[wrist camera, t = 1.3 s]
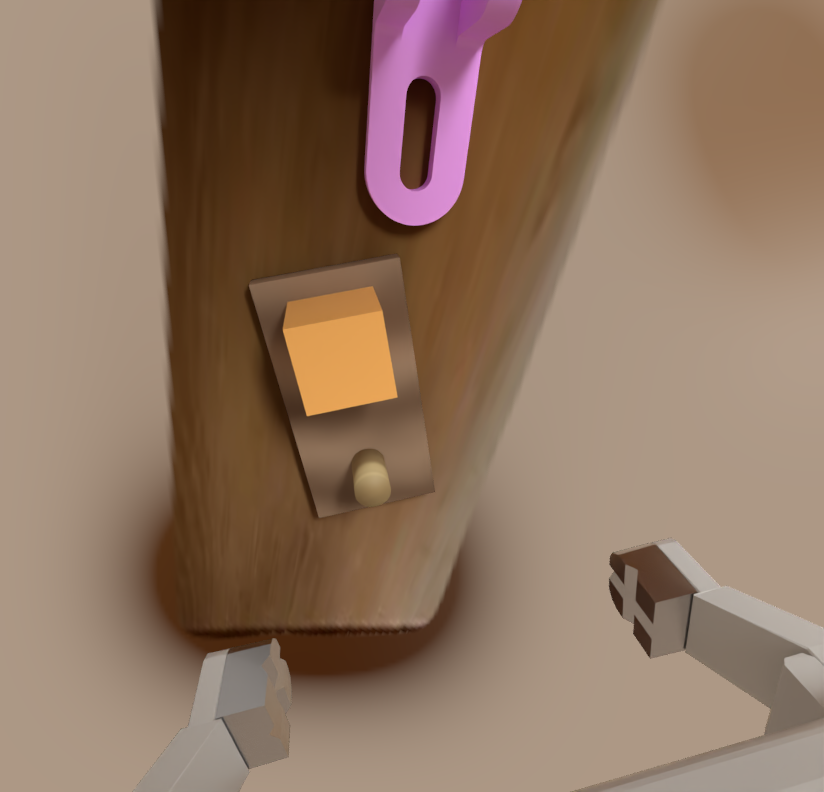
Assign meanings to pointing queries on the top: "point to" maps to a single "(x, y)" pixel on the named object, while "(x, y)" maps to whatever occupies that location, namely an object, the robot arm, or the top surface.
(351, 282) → the peg board
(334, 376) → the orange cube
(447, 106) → the bracket
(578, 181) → the top surface
